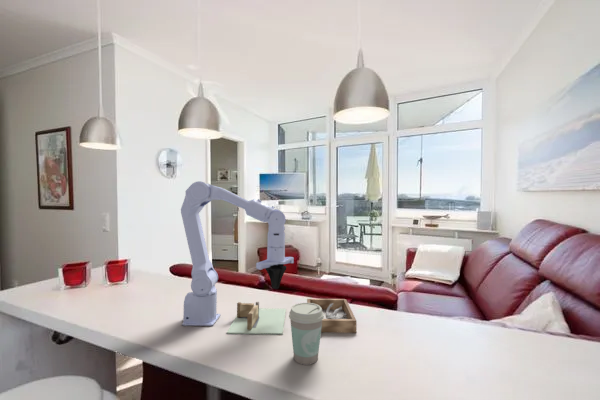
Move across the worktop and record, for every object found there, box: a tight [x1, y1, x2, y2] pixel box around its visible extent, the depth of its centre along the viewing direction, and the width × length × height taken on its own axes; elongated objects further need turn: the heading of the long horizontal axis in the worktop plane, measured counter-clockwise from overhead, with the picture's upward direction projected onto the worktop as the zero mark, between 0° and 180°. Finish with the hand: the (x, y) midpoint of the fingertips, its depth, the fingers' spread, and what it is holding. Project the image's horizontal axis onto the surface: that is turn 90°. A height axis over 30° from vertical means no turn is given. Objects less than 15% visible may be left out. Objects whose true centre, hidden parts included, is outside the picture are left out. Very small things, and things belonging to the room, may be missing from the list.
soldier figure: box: [325, 303, 347, 319], centre depth 84 cm, size 8×5×12 cm
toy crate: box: [306, 298, 357, 334], centre depth 87 cm, size 14×18×4 cm
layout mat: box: [226, 307, 287, 335], centre depth 86 cm, size 16×18×1 cm
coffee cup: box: [288, 302, 325, 366], centre depth 65 cm, size 8×8×12 cm
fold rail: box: [247, 304, 258, 330], centre depth 82 cm, size 8×1×4 cm, turn 174°
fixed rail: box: [236, 301, 260, 318], centre depth 87 cm, size 7×1×5 cm, turn 90°
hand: (275, 288), depth 87 cm, fingers closed
